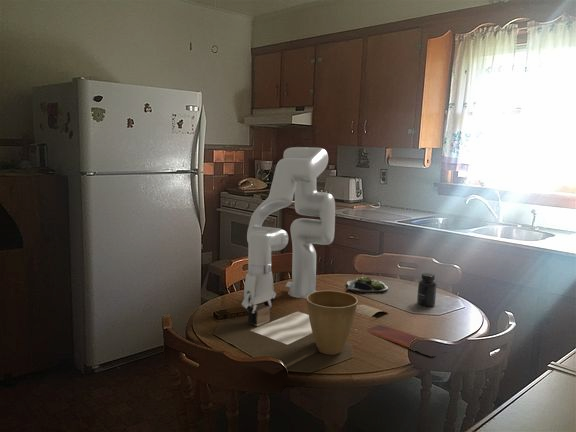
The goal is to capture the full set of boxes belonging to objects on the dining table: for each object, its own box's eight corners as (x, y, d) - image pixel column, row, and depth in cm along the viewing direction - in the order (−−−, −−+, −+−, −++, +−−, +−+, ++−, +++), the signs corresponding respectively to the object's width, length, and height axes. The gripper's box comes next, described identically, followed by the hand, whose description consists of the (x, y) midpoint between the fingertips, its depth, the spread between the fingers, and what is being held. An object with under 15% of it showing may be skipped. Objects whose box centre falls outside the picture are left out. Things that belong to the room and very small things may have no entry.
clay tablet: (366, 324, 162) (367, 316, 162) (343, 316, 169) (344, 309, 169) (390, 314, 172) (390, 307, 171) (368, 307, 179) (368, 300, 179)
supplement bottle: (415, 305, 180) (417, 275, 178) (418, 300, 186) (419, 271, 184) (434, 308, 177) (436, 277, 176) (436, 303, 184) (438, 273, 182)
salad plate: (340, 281, 212) (341, 271, 212) (379, 281, 213) (379, 271, 213) (348, 294, 193) (349, 283, 193) (391, 294, 194) (391, 283, 194)
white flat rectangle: (249, 333, 151) (249, 330, 150) (297, 314, 168) (297, 311, 168) (287, 348, 140) (287, 344, 140) (334, 326, 158) (334, 322, 158)
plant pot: (297, 354, 136) (298, 301, 134) (315, 336, 149) (317, 287, 147) (347, 365, 130) (349, 309, 128) (361, 344, 144) (363, 294, 141)
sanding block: (248, 323, 156) (248, 308, 156) (261, 318, 161) (261, 304, 160) (257, 326, 154) (257, 311, 153) (269, 321, 158) (270, 306, 158)
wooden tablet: (451, 351, 141) (451, 346, 141) (432, 360, 135) (432, 355, 135) (381, 325, 162) (381, 320, 161) (362, 331, 155) (362, 327, 155)
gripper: (269, 262, 163) (268, 311, 166) (232, 271, 151) (232, 325, 153) (285, 265, 159) (284, 316, 161) (248, 276, 146) (248, 331, 148)
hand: (259, 320), depth 157 cm, fingers closed on sanding block, 6 cm apart
